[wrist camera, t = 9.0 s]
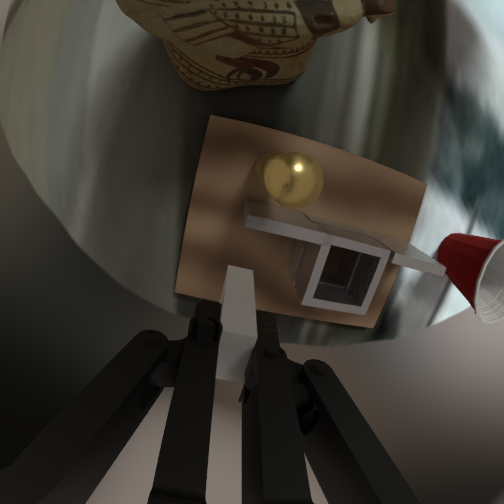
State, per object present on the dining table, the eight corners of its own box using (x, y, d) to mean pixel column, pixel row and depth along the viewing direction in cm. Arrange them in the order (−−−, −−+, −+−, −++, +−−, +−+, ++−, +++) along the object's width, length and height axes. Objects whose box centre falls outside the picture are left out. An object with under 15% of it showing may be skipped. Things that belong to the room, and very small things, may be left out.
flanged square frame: (245, 199, 30) (247, 214, 22) (359, 228, 31) (390, 250, 24) (231, 258, 32) (228, 290, 24) (340, 281, 33) (364, 315, 26)
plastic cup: (474, 205, 32) (533, 228, 21) (474, 272, 36) (523, 306, 24) (420, 224, 33) (480, 256, 21) (423, 295, 36) (471, 340, 25)
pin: (258, 149, 28) (274, 145, 15) (289, 156, 29) (329, 161, 15) (251, 179, 29) (260, 201, 16) (281, 186, 30) (314, 215, 16)
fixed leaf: (304, 213, 31) (325, 233, 23) (408, 243, 32) (446, 267, 24) (287, 269, 33) (301, 305, 25) (389, 290, 34) (421, 324, 26)
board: (211, 116, 28) (210, 114, 27) (421, 182, 31) (426, 183, 30) (176, 287, 34) (174, 292, 33) (369, 323, 37) (373, 328, 36)
